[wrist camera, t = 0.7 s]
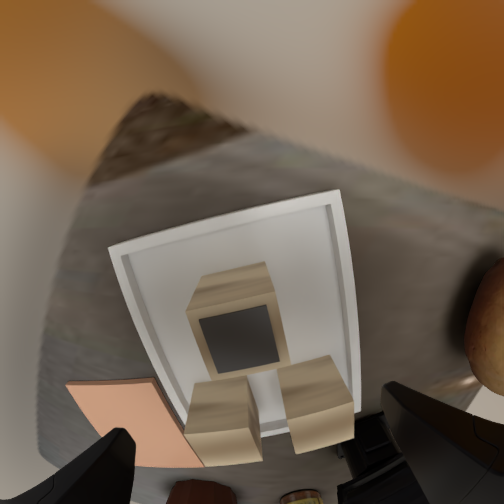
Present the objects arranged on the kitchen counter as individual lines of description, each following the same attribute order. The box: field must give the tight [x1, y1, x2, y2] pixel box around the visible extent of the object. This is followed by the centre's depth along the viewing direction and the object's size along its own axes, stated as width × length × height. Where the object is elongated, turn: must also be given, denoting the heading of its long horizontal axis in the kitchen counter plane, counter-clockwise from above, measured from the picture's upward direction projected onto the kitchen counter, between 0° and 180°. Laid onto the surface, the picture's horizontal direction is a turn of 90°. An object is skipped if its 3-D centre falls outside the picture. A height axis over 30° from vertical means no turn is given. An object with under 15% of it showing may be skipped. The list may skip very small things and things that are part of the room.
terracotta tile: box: [66, 377, 205, 468], centre depth 22 cm, size 14×11×1 cm
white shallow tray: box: [108, 190, 361, 437], centre depth 20 cm, size 20×16×2 cm
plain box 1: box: [184, 375, 263, 467], centre depth 18 cm, size 4×4×6 cm
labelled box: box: [185, 261, 291, 381], centre depth 16 cm, size 4×4×6 cm
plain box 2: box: [277, 355, 354, 454], centre depth 18 cm, size 4×4×6 cm
